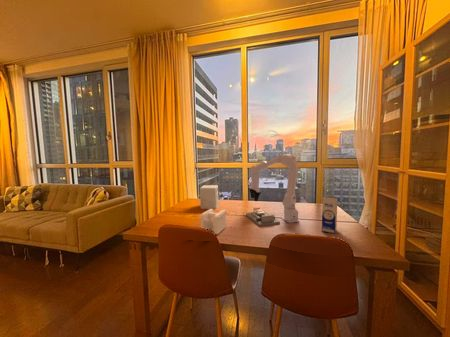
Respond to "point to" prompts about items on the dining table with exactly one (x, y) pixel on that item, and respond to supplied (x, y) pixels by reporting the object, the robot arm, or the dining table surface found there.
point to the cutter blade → (258, 211)
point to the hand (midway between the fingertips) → (254, 199)
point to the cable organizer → (214, 220)
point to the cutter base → (263, 219)
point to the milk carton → (329, 214)
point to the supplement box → (209, 197)
